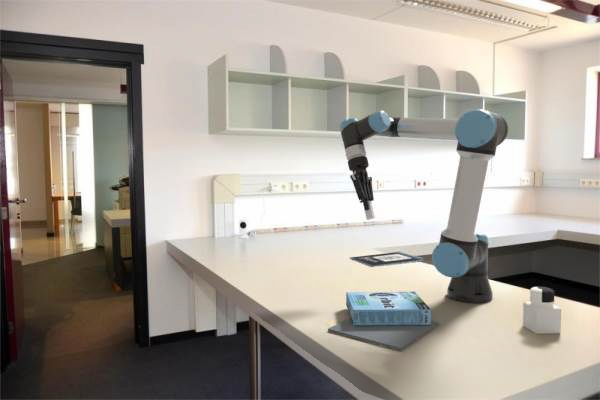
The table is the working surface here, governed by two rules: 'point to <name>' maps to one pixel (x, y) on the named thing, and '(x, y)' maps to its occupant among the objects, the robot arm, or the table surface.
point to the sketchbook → (386, 259)
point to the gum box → (387, 308)
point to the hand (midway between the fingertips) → (370, 218)
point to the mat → (384, 333)
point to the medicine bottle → (542, 312)
